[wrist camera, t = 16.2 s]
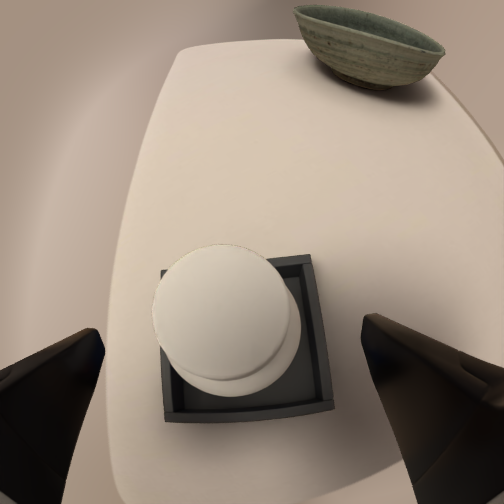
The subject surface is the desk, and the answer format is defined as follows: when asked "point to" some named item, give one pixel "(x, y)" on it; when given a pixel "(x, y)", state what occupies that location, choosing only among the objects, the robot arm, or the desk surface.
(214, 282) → the pill bottle
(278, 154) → the desk surface
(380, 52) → the bowl
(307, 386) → the tray
